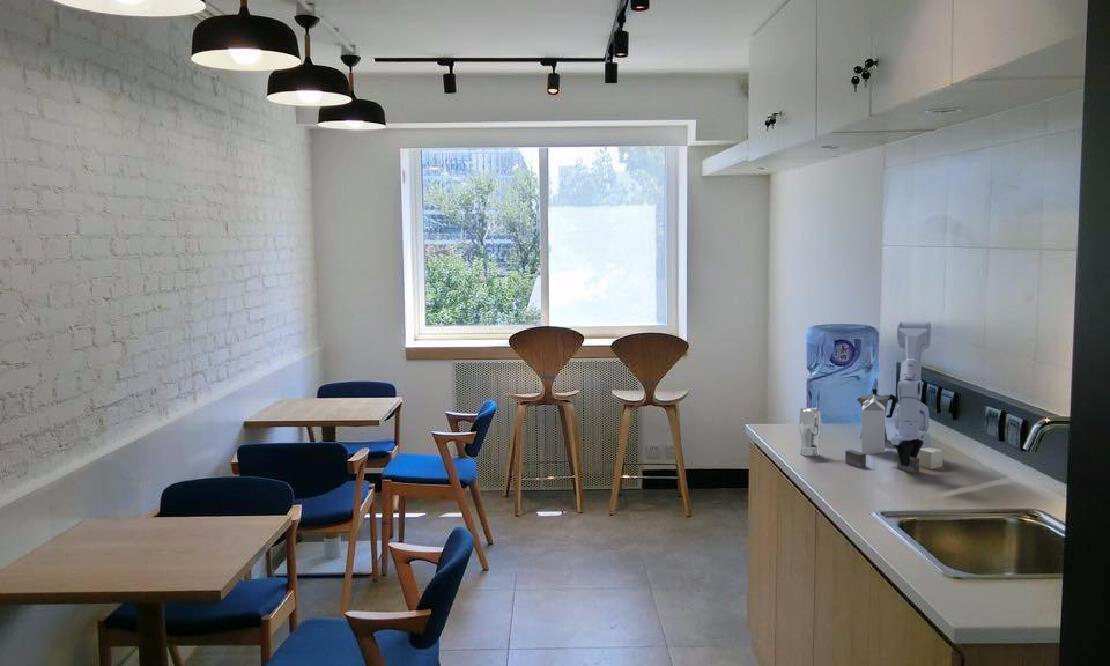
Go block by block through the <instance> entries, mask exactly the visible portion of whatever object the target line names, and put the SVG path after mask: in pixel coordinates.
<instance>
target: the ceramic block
mask: <svg viewBox="0 0 1110 666" xmlns="http://www.w3.org/2000/svg"><path fill="white" fill-rule="evenodd" d="M943 454H944V453H943V450H942V449H939V448H934V447H931V448H930V447H927V448H922V449H920V450H919V453H918V459H919V466H922V467H926V468H930V469H933V468H938V467H942V463H943V461H944V460H943V457H944V455H943Z"/></svg>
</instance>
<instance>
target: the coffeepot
mask: <svg viewBox="0 0 1110 666" xmlns="http://www.w3.org/2000/svg"><path fill="white" fill-rule="evenodd" d="M871 391H872V393H871V394H867V395H861V396H860V397H859V398H857V399H856V401H857V402H859V404H860V406H861V407H862V406H863V405H864V404H863V402H865V401H866V400H869V401H870V400H871V399H873V395H874V398H875V399H876V400H877V401H878V402H879V403H881V404H882V405H883V406H884V407H885V418H887V419H889V418H892V417H893V415H894V412H895V410H896V407H897V404H898V397H896V396H895V395H894V394H893V393H892V394H884V395H881V394H877V391H878V389H876V388H872V389H871ZM889 401H891V405H890V409H889V413H888V414H887V409H888V403H889ZM860 431H861V432H860V435H859V437H860V440H861V439H862V429H860ZM887 441H888V435H887V428H886V426H885V442H887Z"/></svg>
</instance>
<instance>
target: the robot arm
mask: <svg viewBox="0 0 1110 666" xmlns="http://www.w3.org/2000/svg"><path fill="white" fill-rule="evenodd" d="M896 326H897V327H896V339H897V344H898V347H899V348H901V349H904V351H905V360H904V361H902V362H901V364H900V374H899V376H900V378H899V381H898V382H897V405H896V406H895V414H894V415H895V418H894V419H895V420H894V421H895V422H894V424H895V426H894V427H895V429H896V430H897V432H895V434H894V435H895V436H891V438H890V439H891V440H890V444H891V445H893V446H894V447H895V449H896V451H897V454H898V455H899V458H900V462H901V465H902V466H909V461H910V457H914V458H918V453H919V450H920V449H922V448H927V447H930V448H932V438H931V435H930V434H929V433H928V431H929V429H930V428H929V427H930V425H929V424H930V423H929V422H930V412H929V407H928V406H927V405H926V404H924V403H923V402H922V401H921V398H922V393H923V392H922V391H923V389H922V387H923V384H922V355H923V352H924V350H926V349H929V348H930V346H931V340H932V339H931V337H932V324H931V322H930V321H927V322H925V321H901V320H899V322H897V325H896ZM898 455H897V456H898Z"/></svg>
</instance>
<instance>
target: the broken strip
mask: <svg viewBox="0 0 1110 666" xmlns="http://www.w3.org/2000/svg"><path fill="white" fill-rule="evenodd" d="M844 459H845V460H844V463H845V464H846V465H849V466H853V467H857V468H864V467H866V466H867V465H866V464H867V455H866V454H865V453H861V451H858V450H852V449H848V450H845V456H844Z"/></svg>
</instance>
